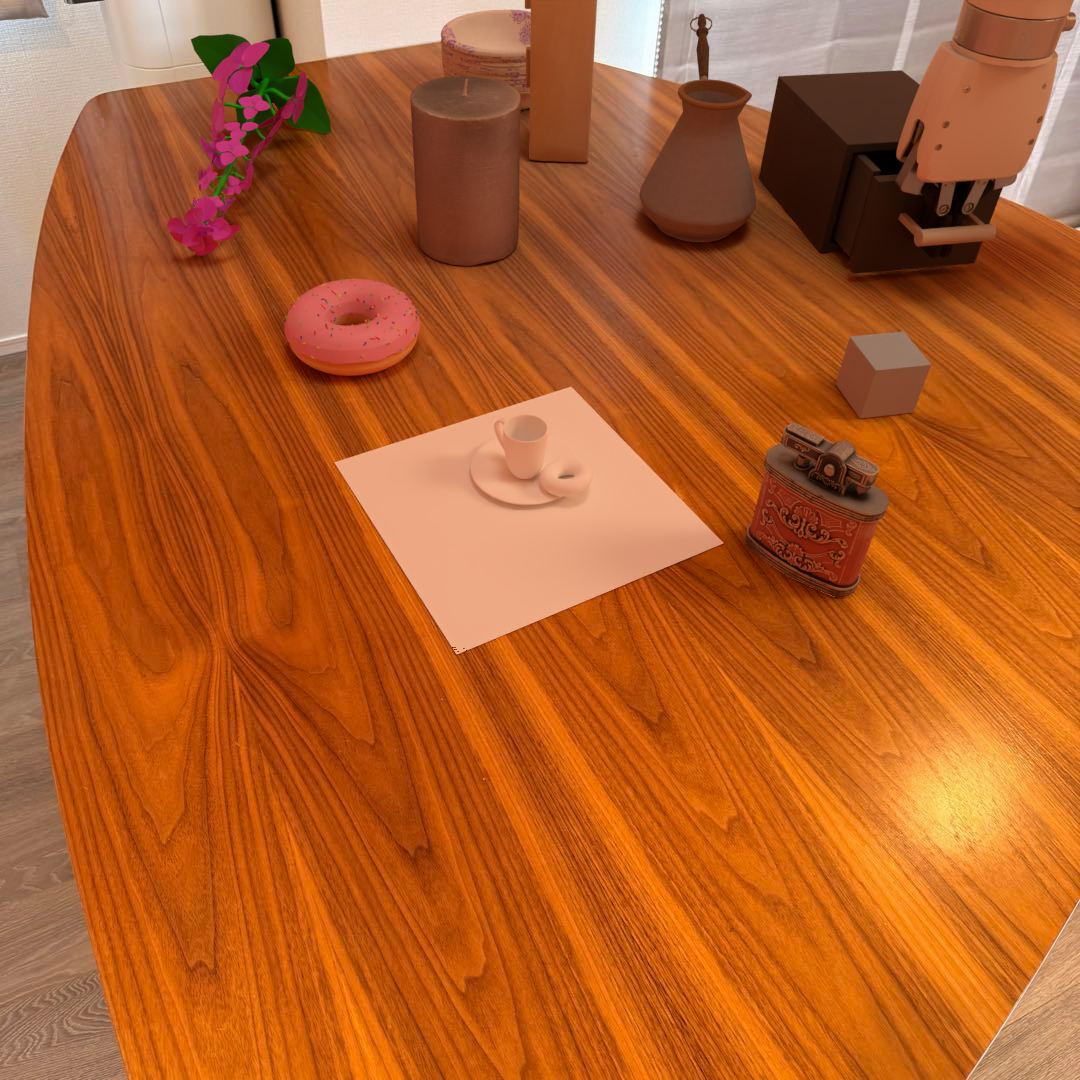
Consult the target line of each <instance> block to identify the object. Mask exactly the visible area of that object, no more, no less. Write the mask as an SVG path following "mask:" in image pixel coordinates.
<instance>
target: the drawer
mask: <svg viewBox="0 0 1080 1080" xmlns="http://www.w3.org/2000/svg"><path fill="white" fill-rule="evenodd" d="M896 152H897V150H886V151H870V152H854V153H853V156H852V160H851V164H850V168H849V171H848V175H847V179H846V183H845V187H844V191H843V194H842V198H841V202H840V206H839V210H838V214H837V218H836V221H835V225H834V229H833V233H832V237H833V238H834V239H835V241H836V242H837V243H838V244H839V245H840V246H841V248H842V249H843V250H844V251H843V252H845V253H846V255H847V256H848V257H849V262H848V265H847V269H848V270H849V271H850V272H851V273H852V275H857V274H868V273H878V272H891V271H902V270H913V269H926V268H936V267H948V266H949V267H950V266H960V265H970V264H975V263H976V260H977V257H978V255H979V252H980V249H981V247H982V244H983V242H991V241H994V239H995V238H996V235H997V226H996V225H995V224H993V223H991V221H992V218H993V215H994V214H995V213H994V212H995V210H996V208H997V204H998V202H999V199H1000V197H1001V194H1002V192H1003V189H1004V187H1002V188H999V189H996V190H993V189H992V190H991V191H990V192H989V193H988V194H987V195H986V196H984V197H983V198H982V199H981V200H979V201H978V203H977V205H976V207H975V209H974V210H973V211H972V212H971V213H970V214H965V217H964V219H963V222H962V225H961V226H958V227H945V228H933V229H921V228H920V227H919V226H920V223H921V220H922V217H923V214H924V211H925V208H926V205H927V204H926V203H925V202H924V201H923V199H922V197H921V195H919V194H918V195H916V194H911V193H906V192H903V191H902V190H901V189H900V188H899V187H898V186H897V185H896V184H895V180H896V178H897V176H898V174H899V172H900V170H901V168H902V166H903V165H904V163H903V162H901V161H899V160H898V159H897V157H896ZM944 244H953V247H952V250H951V253H950V255H949V256H948V257H941V256H938V257H937V258H930V257H929V256H928V255H927V254H926V253H925V251H924V250H923V249H922V248H921V247H920V246H932V245H944Z"/></svg>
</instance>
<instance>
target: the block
mask: <svg viewBox="0 0 1080 1080" xmlns="http://www.w3.org/2000/svg"><path fill="white" fill-rule="evenodd" d="M841 361H842V362H841V365H840V369H839V372H838V375H837V379H836V382H835V386H836V387H837V389H838V390H839V392H840V394H841V395H842V396H843V397H844V398H845V400H846V401H847V403H848V405H849V406H850V407H851V409H852V410H853V411H854V413H855V414H856V416H857V417H858V419H859V420H860V419H861V420H862V419H871V418H878V417H879V418H880V417H887V416H888V417H889V416H897V415H907V414H914V412H915V409H916V407H917V404H918V402H919V399H920V396H921V394H922V391H923V388H924V386H925V383H926V381H927V378H928V375H929V372H930V370H931V367H932V362H930V361H929V359H928V358H927V357H926V356H925V355H924V354H923V352H922V351H921V350H920V348H918V346H917V345H916V344H915V343H914V341H912V339H911V338H910V337H909V336H908V335H907V333H906V332H905V331H903V330H901V331H891V332H882V333H871V334H861V335H850V336H849V338H848V342H847V345H846V348H845V352H844V355H843V357H842V360H841Z"/></svg>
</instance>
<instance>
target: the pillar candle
mask: <svg viewBox="0 0 1080 1080" xmlns="http://www.w3.org/2000/svg"><path fill="white" fill-rule="evenodd" d="M520 99H521V97H520V95H519V93H518V92H517V90H516V89H515V88H514V87H512V86H510V85H508V84H506V83H503V82H500V81H497V80H493V79H490V78H484V77H475V76H453V77H445V76H444V77H437V78H434V79H430V80H427V81H425V82H422V83H420V84H418V85H417V86H416V87H414V89H413V90H412V91H411V94H410V98H409V100H410V117H411V135H412V156H413V170H414V172H413V174H414V188H415V189H414V190H415V206H416V207H415V208H416V224H417V225H416V226H417V227H416V228H417V241H418V246H419V248H420V249H421V251H422V252H423V253H424V254H425V255H426V256H428V257H430V258H432V259H434V260H436V261H439V262H441V263H446V264H448V265H453V266H461V267H472V266H477V265H480V264H484V263H490V262H495V261H500V260H503V259H505V258H507V257H509V256H511V254H513V253H514V251H515V250H516V249H517V246H518V243H519V231H520V230H519V229H520V228H519V227H520V204H521V203H520V202H521V201H520V195H521V194H520V171H521V170H520V168H521V164H520V162H521V161H520V160H521V111H522V110H521V100H520Z"/></svg>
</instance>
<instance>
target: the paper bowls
mask: <svg viewBox="0 0 1080 1080" xmlns="http://www.w3.org/2000/svg"><path fill="white" fill-rule="evenodd" d="M440 38H441V39H440V44H441V61H442V62H441V63H442V68H443V69H442V70H443V71H442V72H443V76H444V78H445V77H453V76H475V77H484V78H490V79H493V80H497V81H500V82H503V83H506V84H508V85H510V86H512V87H514V88H515V89H516V90H517V92H518V93H519V95H520V97H521V99H520V100H521V110H520V111H524V110H528V109H530V88H527V87H526V47H530V39H531V10H523V9H522V10H521V9H490V10H480V11H474V12H470V13H466V14H463V15H460V16H458V17H455V18H453V19H451V20H449V21H448V22H447V23H446V24H444V26H443V27H442V29H441V31H440Z"/></svg>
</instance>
